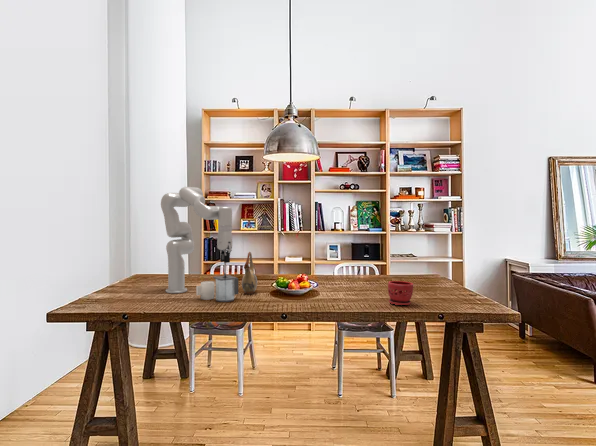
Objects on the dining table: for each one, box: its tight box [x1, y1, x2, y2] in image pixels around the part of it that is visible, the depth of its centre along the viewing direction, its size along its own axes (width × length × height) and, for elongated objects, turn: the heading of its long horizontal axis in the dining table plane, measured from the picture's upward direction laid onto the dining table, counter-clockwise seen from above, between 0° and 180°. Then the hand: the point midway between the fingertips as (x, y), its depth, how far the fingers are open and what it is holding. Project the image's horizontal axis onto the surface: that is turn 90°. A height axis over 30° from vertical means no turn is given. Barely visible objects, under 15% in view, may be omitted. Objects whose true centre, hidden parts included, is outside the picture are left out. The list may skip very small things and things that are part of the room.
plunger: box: [222, 254, 227, 278], centre depth 221 cm, size 7×7×16 cm
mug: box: [195, 280, 215, 301], centre depth 226 cm, size 8×10×9 cm
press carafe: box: [212, 274, 239, 303], centre depth 223 cm, size 10×13×13 cm
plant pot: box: [387, 280, 414, 306], centre depth 215 cm, size 13×13×12 cm
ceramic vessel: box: [241, 251, 258, 295], centre depth 240 cm, size 16×9×25 cm, turn 172°
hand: (225, 261), depth 221 cm, fingers closed on plunger, 3 cm apart
